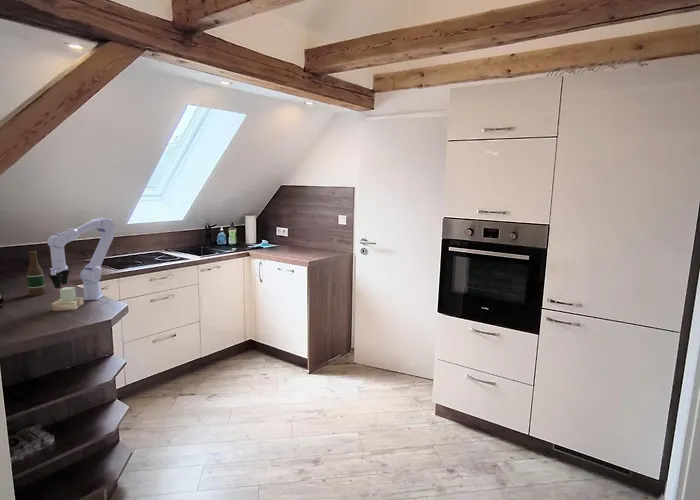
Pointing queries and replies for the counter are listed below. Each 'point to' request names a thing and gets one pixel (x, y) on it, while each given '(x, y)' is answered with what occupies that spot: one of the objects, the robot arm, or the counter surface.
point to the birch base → (68, 304)
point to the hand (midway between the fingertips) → (61, 286)
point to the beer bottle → (35, 276)
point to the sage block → (67, 294)
